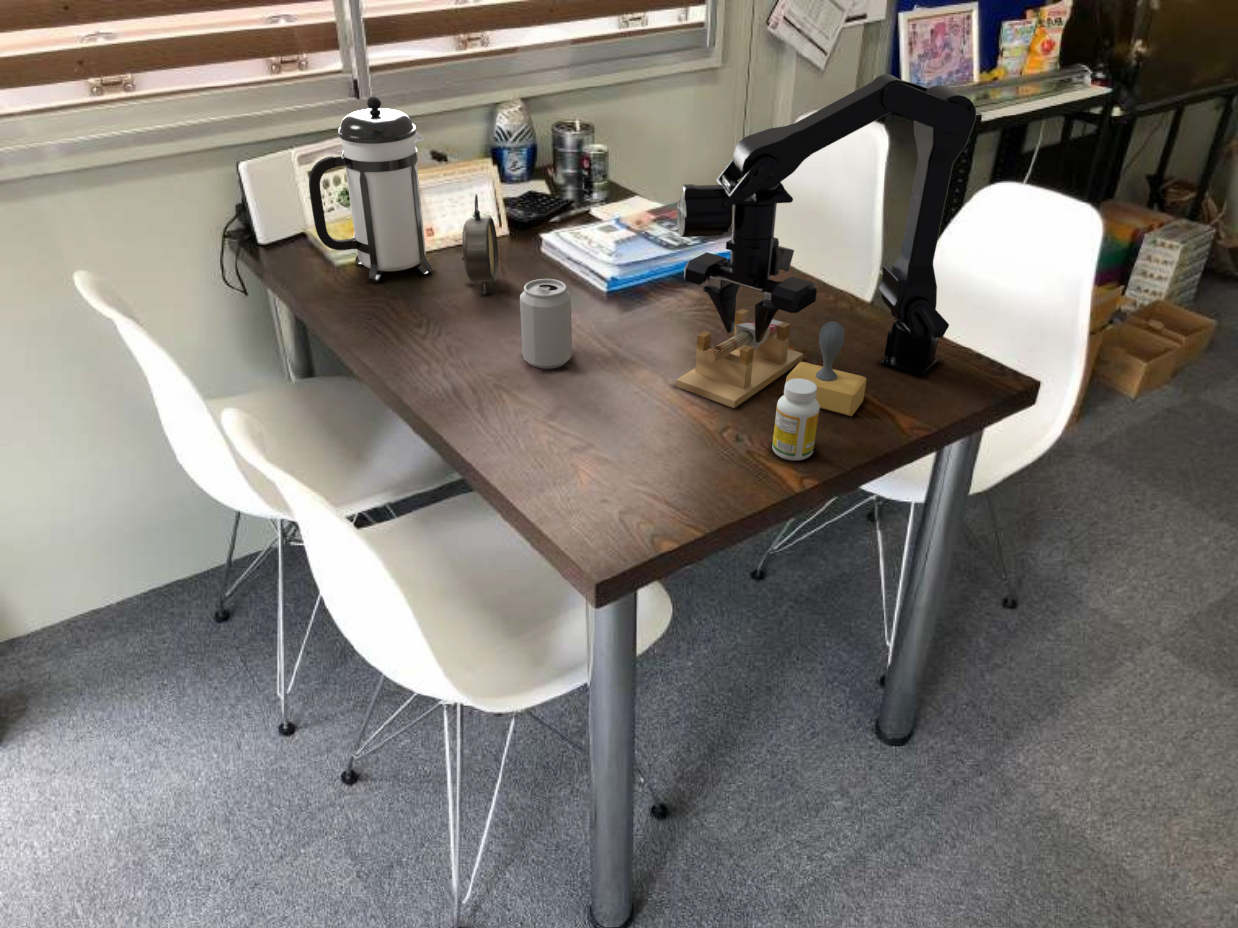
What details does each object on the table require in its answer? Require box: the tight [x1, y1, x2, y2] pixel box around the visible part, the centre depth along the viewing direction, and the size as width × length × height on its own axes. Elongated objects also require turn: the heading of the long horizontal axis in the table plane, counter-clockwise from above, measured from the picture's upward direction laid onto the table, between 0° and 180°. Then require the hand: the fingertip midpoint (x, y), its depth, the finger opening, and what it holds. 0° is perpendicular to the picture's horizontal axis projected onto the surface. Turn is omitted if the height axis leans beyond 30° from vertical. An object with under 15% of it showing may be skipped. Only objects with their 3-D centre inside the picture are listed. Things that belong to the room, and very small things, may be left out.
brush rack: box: [675, 308, 804, 409], centre depth 147 cm, size 10×19×7 cm, turn 141°
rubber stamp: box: [785, 320, 867, 417], centre depth 139 cm, size 10×6×12 cm, turn 61°
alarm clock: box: [461, 193, 499, 296], centre depth 172 cm, size 11×5×16 cm, turn 179°
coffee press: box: [308, 95, 433, 284], centre depth 173 cm, size 17×16×30 cm
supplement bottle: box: [771, 379, 821, 461], centre depth 128 cm, size 5×5×10 cm
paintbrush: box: [704, 318, 784, 363], centre depth 146 cm, size 4×3×20 cm
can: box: [519, 278, 573, 370], centre depth 149 cm, size 8×8×12 cm
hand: (744, 336), depth 146 cm, fingers open, 5 cm apart
